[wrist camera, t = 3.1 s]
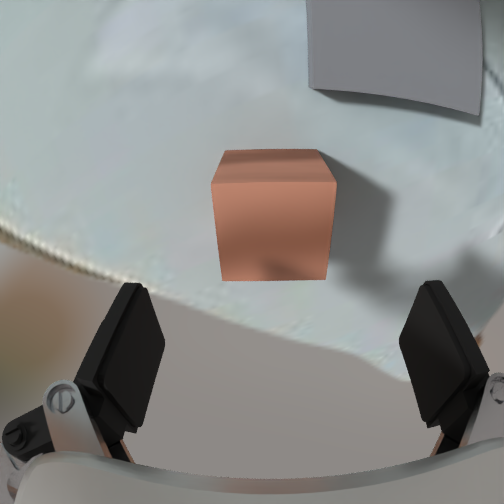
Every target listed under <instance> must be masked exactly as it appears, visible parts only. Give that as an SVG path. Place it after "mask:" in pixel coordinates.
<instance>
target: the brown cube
mask: <svg viewBox="0 0 504 504" xmlns="http://www.w3.org/2000/svg"><path fill="white" fill-rule="evenodd" d="M336 187H337V182H336V180H335V178H334V177H333V175H332V173H331V172H330V170H329V168H328V167H327V165H326V163H325V162H324V160H323V158H322V157H321V155H320V154H319V152H318V150H317V149H253V150H227V151H225V152H224V154H223V157H222V159H221V161H220V163H219V166H218V168H217V170H216V173H215V175H214V177H213V180H212V182H211V191H212V200H213V209H214V217H215V226H216V234H217V243H218V251H219V259H220V267H221V274H222V281H287V280H326V274H327V267H328V259H329V252H330V244H331V236H332V227H333V218H334V209H335V198H336Z"/></svg>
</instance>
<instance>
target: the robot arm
mask: <svg viewBox="0 0 504 504" xmlns="http://www.w3.org/2000/svg"><path fill="white" fill-rule="evenodd" d="M399 345H400V349H401V351H402V354H403V357H404V360H405V364H406V367H407V370H408V373H409V376H410V379H411V383H412V386H413V389H414V393H415V396H416V400H417V403H418V407H419V411H420V414H421V418H422V420H423V421H424V422H426V424H427V428H431V427H434V426H438V425H440V426H441V430H442V431H441V433H440V436H439V438H438V440H437V442H436V444H435V447H434V448H433V451H432V453H431V455H430V457H427V458H424V459H420V460H417V461H413V462H409V463H405V464H400V465H396V466H392V467H387V468H381V469H376V470H370V471H364V472H358V473H351V474H344V475H335V476H325V477H313V478H295V479H248V478H247V479H246V478H229V477H216V476H206V475H198V474H190V473H183V472H176V471H171V470H165V469H159V468H154V467H149V466H144V465H139V464H135V462H134V460H133V458H132V457H131V455H130V453H129V451H128V449H127V447H126V445H125V443H124V441H123V436H124V432H125V431H127V432H132V433H136V432H137V428H138V427H141V426H142V424H143V421H144V418H145V414H146V410H147V407H148V403H149V399H150V396H151V392H152V389H153V385H154V382H155V378H156V375H157V372H158V368H159V365H160V361H161V358H162V354H163V352H164V347H165V339H164V336H163V333H162V331H161V328H160V325H159V322H158V320H157V317H156V314H155V311H154V308H153V305H152V302H151V299H150V296H149V293H148V290H147V288H145V287H143V286H142V284H141V283H124V284H123V285H122V287H121V289H120V291H119V293H118V295H117V296H116V298H115V300H114V302H113V304H112V306H111V307H110V309H109V311H108V313H107V315H106V317H105V319H104V320H103V322H102V323H101V325H100V327H99V329H98V331H97V333H96V335H95V337H94V339H93V341H92V343H91V345H90V347H89V349H88V351H87V353H86V356H85V357H84V359H83V362H82V364H81V366H80V368H79V370H78V372H77V375H76V377H75V379H74V381H73V382H71V381H69V380H60V381H56V382H55V383H53V384H52V385H50V387H49V388H48V389H47V390H46V392H45V394H44V397H43V405H41V406H40V407H38V408H36V409H34V410H32V411H30V412H28V413H26V414H24V415H22V416H20V417H18V418H16V419H14V420H12V421H11V422H9V423H8V424H7V425H6V427H5V429H4V431H3V436H2V442H0V504H504V374H503V373H494V374H492V375H491V376H489V374H488V372H489V371H490V370H489V368H488V366H487V363H486V361H485V359H484V357H483V355H482V353H481V351H480V349H479V347H478V345H477V343H476V341H475V339H474V337H473V335H472V333H471V331H470V329H469V327H468V325H467V324H466V322H465V320H464V318H463V316H462V314H461V313H460V311H459V309H458V307H457V306H456V304H455V302H454V300H453V299H452V297H451V295H450V294H449V292H448V290H447V289H446V287H445V286H444V284H443V282H442V281H440V280H433V281H425V282H424V284H423V285H421V286H420V288H419V290H418V293H417V296H416V298H415V301H414V303H413V306H412V308H411V311H410V313H409V316H408V318H407V321H406V323H405V325H404V328H403V330H402V332H401V334H400V337H399Z"/></svg>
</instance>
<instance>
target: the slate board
mask: <svg viewBox="0 0 504 504" xmlns="http://www.w3.org/2000/svg"><path fill="white" fill-rule="evenodd" d="M306 6H307V29H308V68H309V87H310V88H313V89H326V90H340V91H351V92H361V93H370V94H377V95H385V96H391V97H398V98H404V99H409V100H415V101H420V102H425V103H429V104H434V105H439V106H443V107H447V108H451V109H455V110H459V111H463V112H466V113H470V114H473V115H477V116H479V111H480V100H481V87H482V25H481V12H480V2H479V0H306Z"/></svg>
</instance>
